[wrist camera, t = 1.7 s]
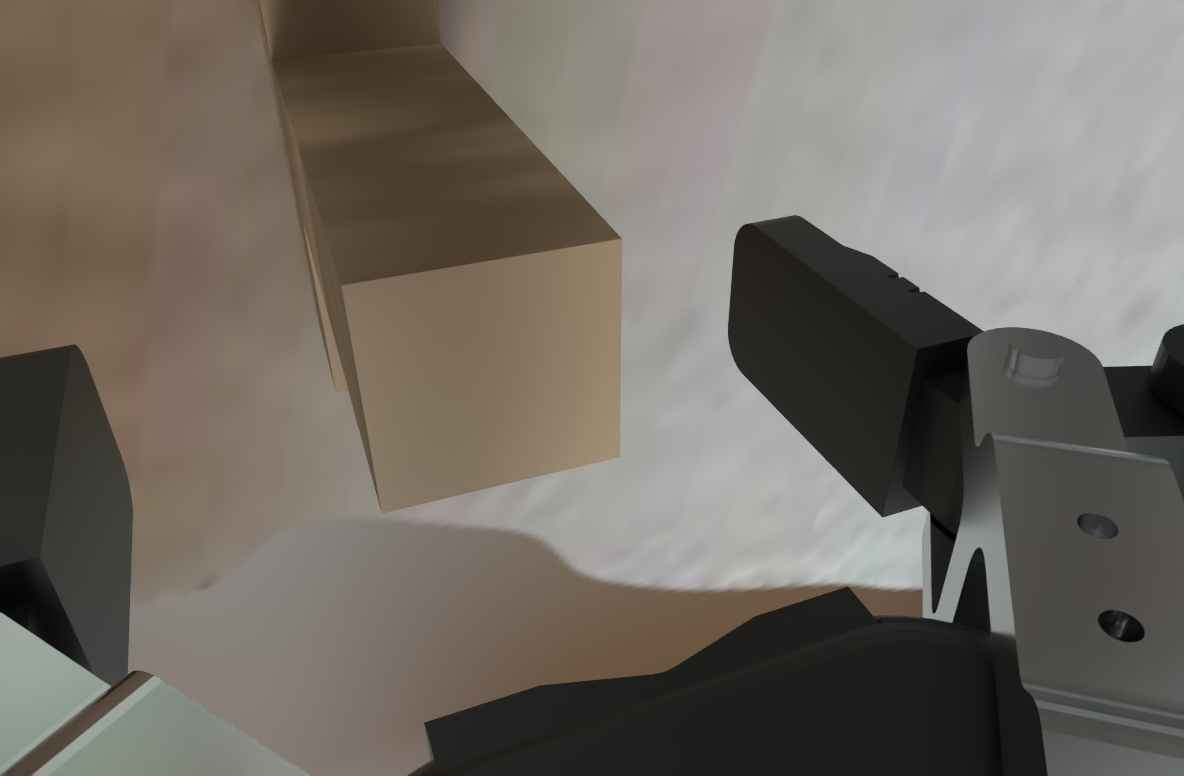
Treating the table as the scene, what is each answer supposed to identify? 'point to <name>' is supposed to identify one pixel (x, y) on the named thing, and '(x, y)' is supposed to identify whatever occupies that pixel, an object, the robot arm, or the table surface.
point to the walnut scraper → (442, 257)
